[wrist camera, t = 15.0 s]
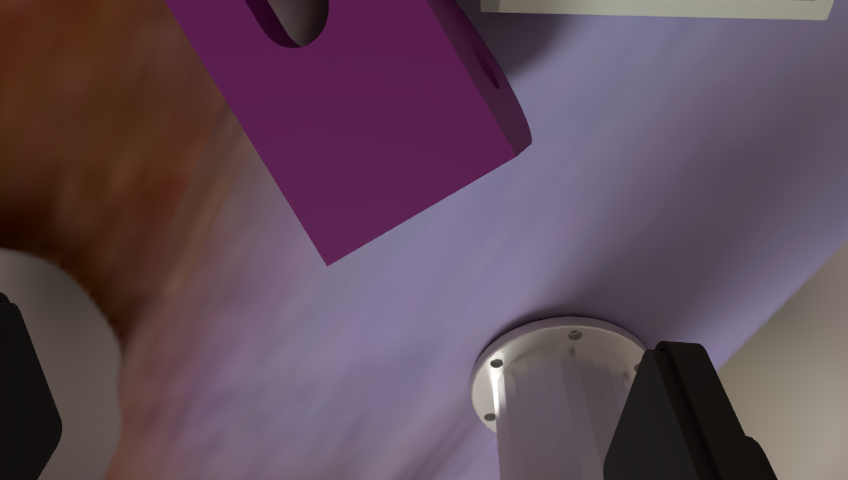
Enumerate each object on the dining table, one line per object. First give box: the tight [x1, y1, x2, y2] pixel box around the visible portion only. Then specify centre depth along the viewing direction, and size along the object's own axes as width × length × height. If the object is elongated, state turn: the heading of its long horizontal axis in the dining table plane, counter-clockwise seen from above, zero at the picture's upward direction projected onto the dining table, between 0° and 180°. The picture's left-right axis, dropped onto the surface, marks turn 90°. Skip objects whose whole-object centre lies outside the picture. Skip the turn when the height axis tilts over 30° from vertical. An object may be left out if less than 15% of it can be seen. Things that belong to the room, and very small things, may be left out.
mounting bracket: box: [165, 0, 532, 266], centre depth 29 cm, size 10×8×18 cm
